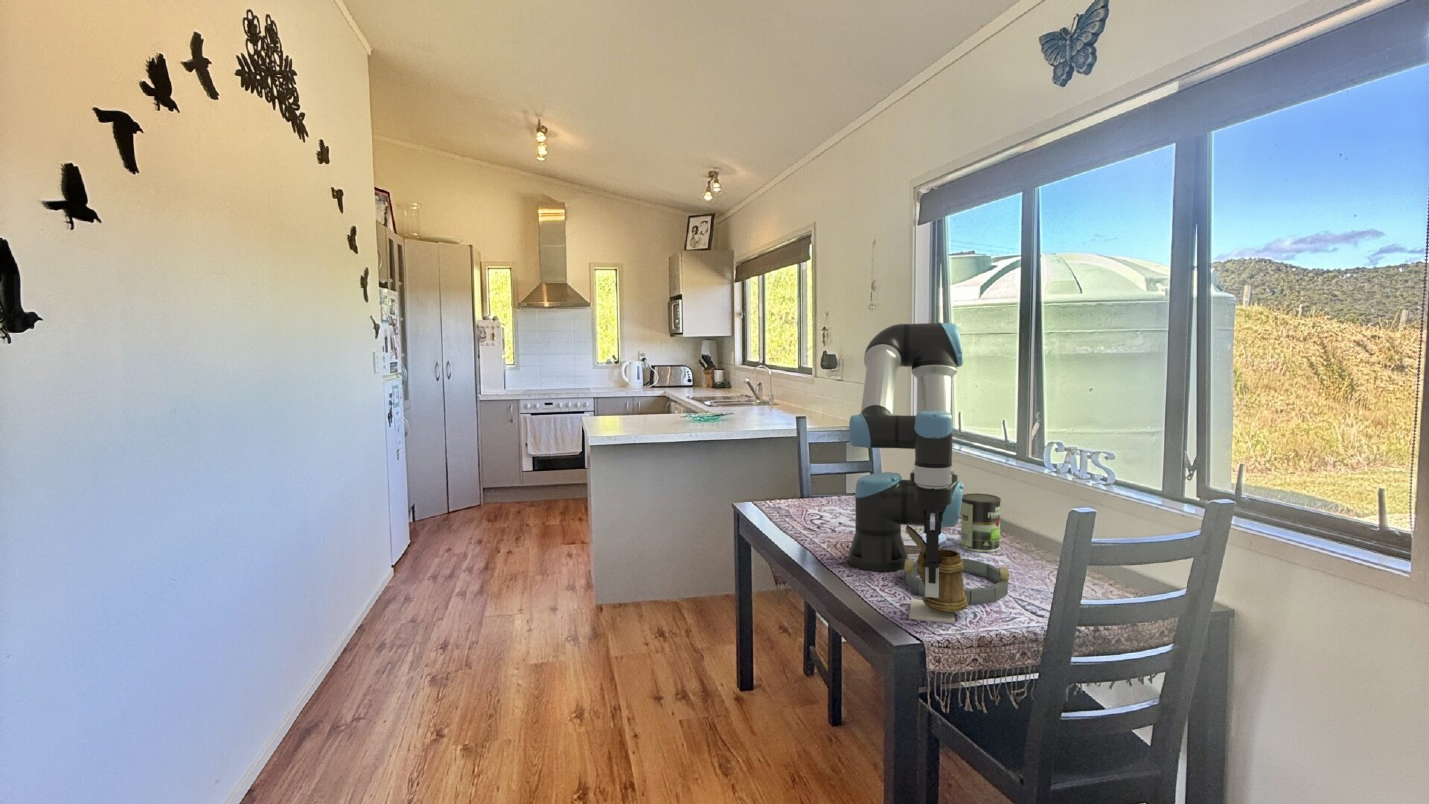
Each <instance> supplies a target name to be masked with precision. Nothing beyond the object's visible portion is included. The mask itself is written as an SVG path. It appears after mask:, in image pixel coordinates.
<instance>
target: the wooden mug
mask: <svg viewBox="0 0 1429 804" xmlns="http://www.w3.org/2000/svg"><path fill="white" fill-rule="evenodd" d="M905 531H906V533H907V534H908V536H909V537H910V539H911V540H912V541H913V542H914V543H915V544H916V546H917V547H918V549H920V553H918V554H919V555H917V556H918V557H917V559H916V561H917V571H918V576H919V579H921V580H922V582H923V583H924V585H925V567H922V564H925V563H926V540H925V539H924V538H923V537H922V536H921V535H920V534H919V532H917V531H916V530H915V528H913V527H911V525H905ZM961 558H962V557H961V553H960V552H959V551H957V550H955V549H948V548H947V549H946V548H939V550H938V563H939V598H933V597H925V592H924V596H923V598H922V600H923V602H924V603H925V605H927V606H928V607H929V608H932V609H934V610H938V611H943V612H954V613H958V612H961V611H964V610H966V609H967V608H968V606H969V604H967V599H966V596H965V592H964V589H965V584H964V578H963V572H962V569H963V563H962V560H961ZM930 562H931V561H930Z"/></svg>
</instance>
